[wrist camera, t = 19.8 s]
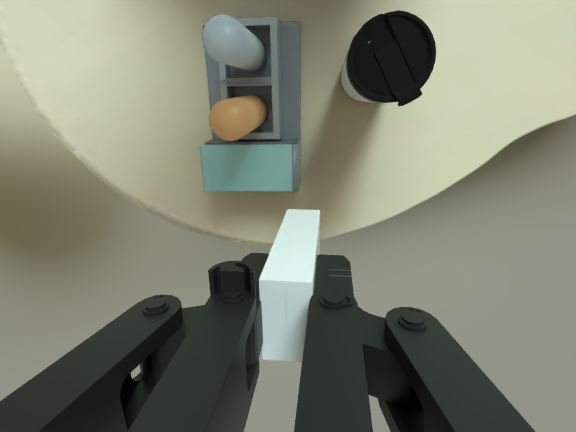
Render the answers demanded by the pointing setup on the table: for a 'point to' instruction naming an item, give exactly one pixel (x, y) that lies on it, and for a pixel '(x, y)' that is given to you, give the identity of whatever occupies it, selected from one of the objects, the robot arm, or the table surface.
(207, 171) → the lid
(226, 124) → the orange capsule
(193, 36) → the table surface
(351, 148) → the table surface
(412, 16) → the travel mug
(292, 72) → the housing
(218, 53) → the ball
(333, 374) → the robot arm
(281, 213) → the table surface
